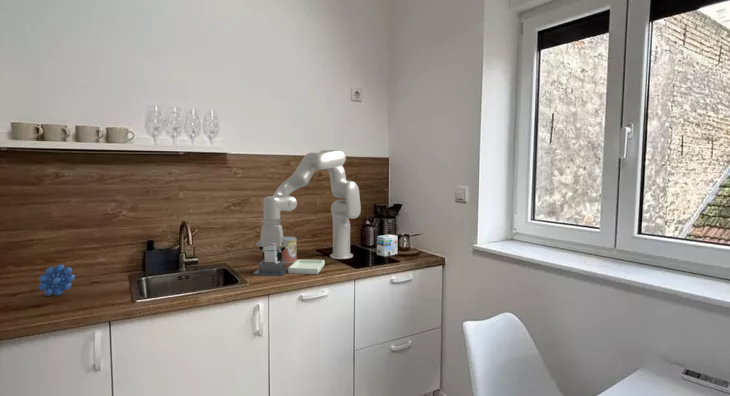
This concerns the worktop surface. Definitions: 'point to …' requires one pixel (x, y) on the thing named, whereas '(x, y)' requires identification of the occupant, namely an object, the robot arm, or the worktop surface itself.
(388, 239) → the light bulb box
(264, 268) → the sleeve holder
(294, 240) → the canned food
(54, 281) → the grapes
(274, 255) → the syrup box
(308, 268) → the tray
